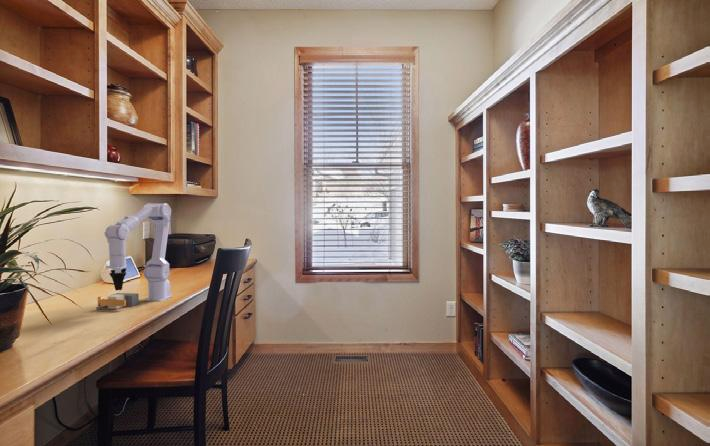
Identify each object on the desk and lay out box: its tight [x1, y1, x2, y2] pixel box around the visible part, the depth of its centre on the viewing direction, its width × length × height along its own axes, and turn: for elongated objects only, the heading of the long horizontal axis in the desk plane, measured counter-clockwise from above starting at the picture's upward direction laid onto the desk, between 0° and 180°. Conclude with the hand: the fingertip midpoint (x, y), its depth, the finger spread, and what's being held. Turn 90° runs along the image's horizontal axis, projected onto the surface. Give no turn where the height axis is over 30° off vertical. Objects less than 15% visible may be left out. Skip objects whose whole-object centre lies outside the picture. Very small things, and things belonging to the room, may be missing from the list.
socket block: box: [95, 292, 140, 311], centre depth 167 cm, size 11×11×5 cm
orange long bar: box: [97, 296, 127, 307], centre depth 162 cm, size 12×1×4 cm, turn 82°
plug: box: [107, 293, 126, 310], centre depth 166 cm, size 7×4×5 cm, turn 172°
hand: (118, 288), depth 159 cm, fingers open, 7 cm apart
